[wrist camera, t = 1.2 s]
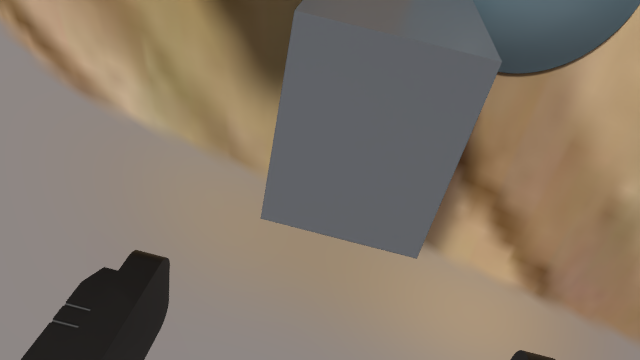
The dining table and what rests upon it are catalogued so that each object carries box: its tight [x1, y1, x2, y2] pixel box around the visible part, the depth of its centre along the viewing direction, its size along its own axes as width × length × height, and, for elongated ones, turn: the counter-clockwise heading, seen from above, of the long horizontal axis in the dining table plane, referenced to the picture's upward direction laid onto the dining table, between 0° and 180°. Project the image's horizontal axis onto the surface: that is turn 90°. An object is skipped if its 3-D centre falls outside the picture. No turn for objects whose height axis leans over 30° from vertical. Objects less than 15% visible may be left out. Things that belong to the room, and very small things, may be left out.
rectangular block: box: [261, 0, 502, 258], centre depth 21 cm, size 7×9×9 cm
